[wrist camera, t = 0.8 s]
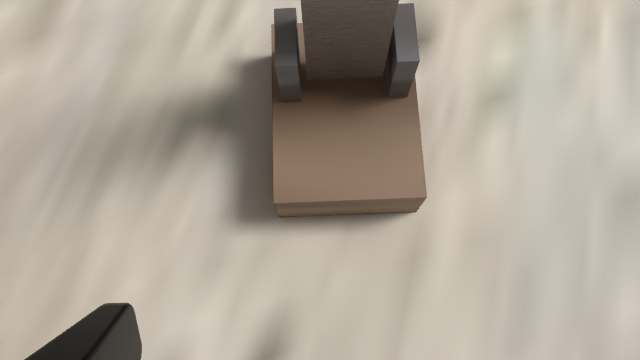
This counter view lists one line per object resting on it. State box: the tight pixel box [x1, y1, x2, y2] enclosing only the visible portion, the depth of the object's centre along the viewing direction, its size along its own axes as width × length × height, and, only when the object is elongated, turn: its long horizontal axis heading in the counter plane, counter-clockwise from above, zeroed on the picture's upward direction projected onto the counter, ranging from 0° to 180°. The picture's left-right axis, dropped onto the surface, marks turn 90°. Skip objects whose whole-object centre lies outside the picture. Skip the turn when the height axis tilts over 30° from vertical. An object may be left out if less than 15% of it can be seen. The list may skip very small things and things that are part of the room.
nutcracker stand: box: [271, 3, 427, 217], centre depth 21 cm, size 8×6×6 cm
